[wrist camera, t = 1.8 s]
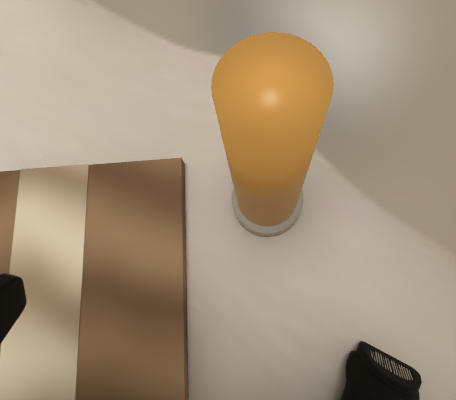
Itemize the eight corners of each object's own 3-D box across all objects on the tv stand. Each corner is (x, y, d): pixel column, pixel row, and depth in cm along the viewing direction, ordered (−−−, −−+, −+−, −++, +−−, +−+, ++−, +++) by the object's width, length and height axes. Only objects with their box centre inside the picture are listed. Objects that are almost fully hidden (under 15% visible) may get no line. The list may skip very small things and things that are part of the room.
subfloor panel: (189, 450, 20) (184, 458, 19) (-30, 455, 21) (-45, 463, 20) (184, 163, 24) (180, 157, 23) (4, 177, 25) (-7, 171, 24)
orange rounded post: (303, 234, 23) (353, 143, 10) (235, 238, 23) (203, 154, 10) (296, 170, 24) (335, 17, 11) (232, 175, 24) (199, 30, 11)
